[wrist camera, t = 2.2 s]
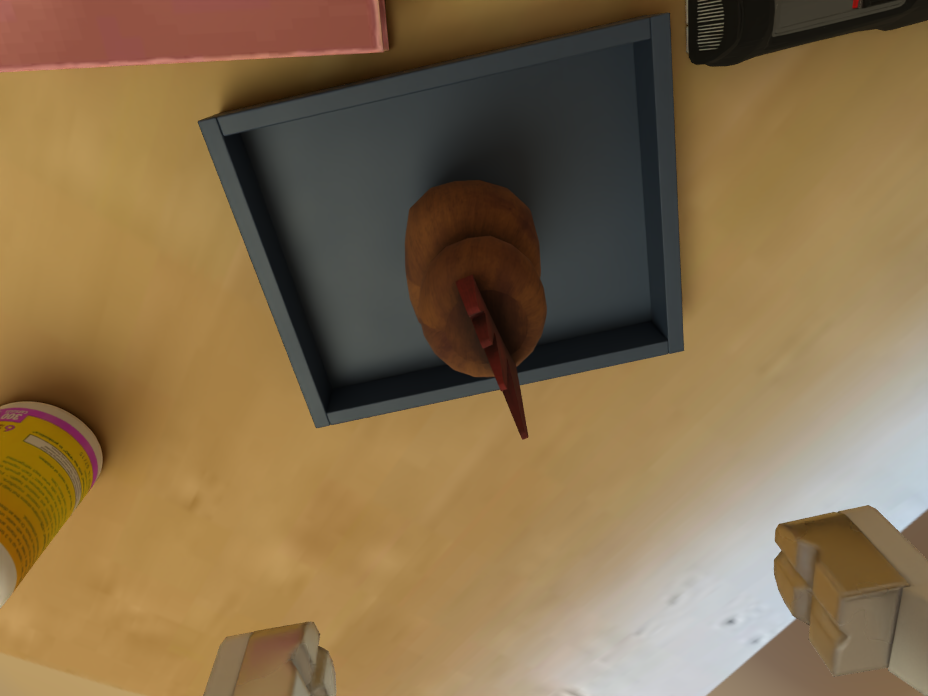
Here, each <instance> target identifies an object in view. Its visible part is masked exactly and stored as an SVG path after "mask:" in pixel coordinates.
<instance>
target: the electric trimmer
mask: <svg viewBox="0 0 928 696" xmlns="http://www.w3.org/2000/svg"><path fill="white" fill-rule="evenodd" d="M686 2H687V3H685V4H687V5H686V6H687V7H685V8H687V9H686V12H687V13H686V15H687V16H686V17H687V18H686V19H687V20H686V21H687V22H685V23H687V24H688V27H686V28H687V29H686V30H687V31H686V32H687V33H686V34H687V35H686V36H687V37H686V38H687V40H686V41H687V42H686V43H687V44H686V45H687V51H686V52H687V53H689V58H690V60H691V62H692V63H694V64H696V65H700V64H706V65H708V66H713V67H714V66H730V65H735V64H738V63H741V62H743V61H745V60H748V59H750V58H753V57H756V56H760V55H764V54H768V53H771V52H775V51H779V50H783V49H787V48H791V47H795V46H799V45H803V44H807V43H811V42H815V41H819V40H823V39H827V38H832V37H836V36H840V35H844V34H848V33H853V32H857V31H864V30H872V29H878V30H883V31H887V30H893V29H897V28H900V27H904V26H908V25H912V24H915V23H919V22H923V21H926V20H928V0H687V1H686Z"/></svg>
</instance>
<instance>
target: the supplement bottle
mask: <svg viewBox="0 0 928 696" xmlns="http://www.w3.org/2000/svg"><path fill="white" fill-rule="evenodd" d="M102 463H103V456H102V450H101V447H100V444H99V442H98V440H97V438H96V437H95V435H94V434H93V432H92V431H91V430H90V429H89V428H88V427H87V426H86V425H85V424H84V423H83V422H82V421H81V420H79V419H78V418H77V417H75V416H74V415H72V414H70V413H69V412H67V411H65V410H63V409H61V408H58V407H56V406H53V405H49V404H45V403H40V402H31V401H23V402H14V403H9V404H6V405H3V406H0V608H1V607H2V606H3V605H4V604H5V602H6V601H7V600H8V598H9V597H10V596H11V595H12V593H13V592H14V591H15V589H16V588H17V586H18V585H19V584H20V582H21V581H22V580H23V578H24V577H25V576H26V574H27V573H28V571H29V570H30V569H31V567H32V566H33V565H34V563H35V562H36V561H37V559H38V558H39V557H40V555H41V554H42V553H43V551H44V550H45V549H46V547H47V546H48V545H49V543H50V542H51V541H52V539H53V538H54V537H55V535H56V534H57V533H58V531H59V530H60V529H61V527H62V526H63V525H64V523H65V522H66V521H67V520H68V518H69V517H70V516H71V514H72V513H73V512H74V510H75V509H76V508H77V506H78V505H79V504H80V502H81V501H82V500H83V498H84V497H85V496H86V494H87V493H88V492H89V490H90V489H91V488H92V486H93V485H94V483H95V482H96V480H97V479H98V477H99V475H100V472H101V469H102Z"/></svg>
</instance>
